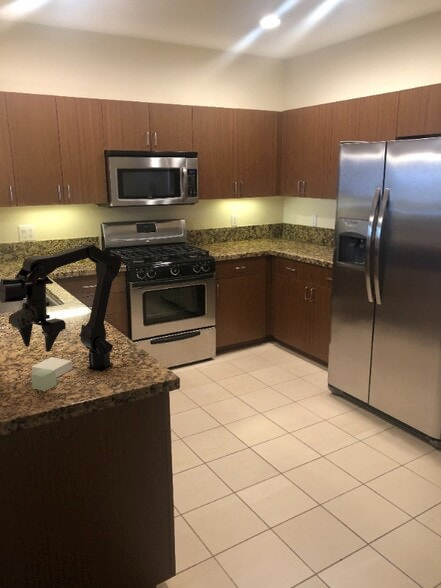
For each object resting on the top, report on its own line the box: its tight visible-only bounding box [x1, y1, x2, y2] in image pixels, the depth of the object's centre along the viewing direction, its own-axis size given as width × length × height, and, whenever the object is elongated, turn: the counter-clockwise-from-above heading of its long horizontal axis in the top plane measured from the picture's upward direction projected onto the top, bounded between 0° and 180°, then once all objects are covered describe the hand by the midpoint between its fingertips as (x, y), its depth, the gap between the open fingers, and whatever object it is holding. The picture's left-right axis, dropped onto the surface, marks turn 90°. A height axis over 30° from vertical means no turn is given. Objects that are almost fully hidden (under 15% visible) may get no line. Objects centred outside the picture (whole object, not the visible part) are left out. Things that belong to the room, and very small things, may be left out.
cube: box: [30, 368, 58, 392], centre depth 147 cm, size 5×5×5 cm
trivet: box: [31, 356, 73, 379], centre depth 159 cm, size 9×9×3 cm
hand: (37, 348), depth 145 cm, fingers open, 9 cm apart
